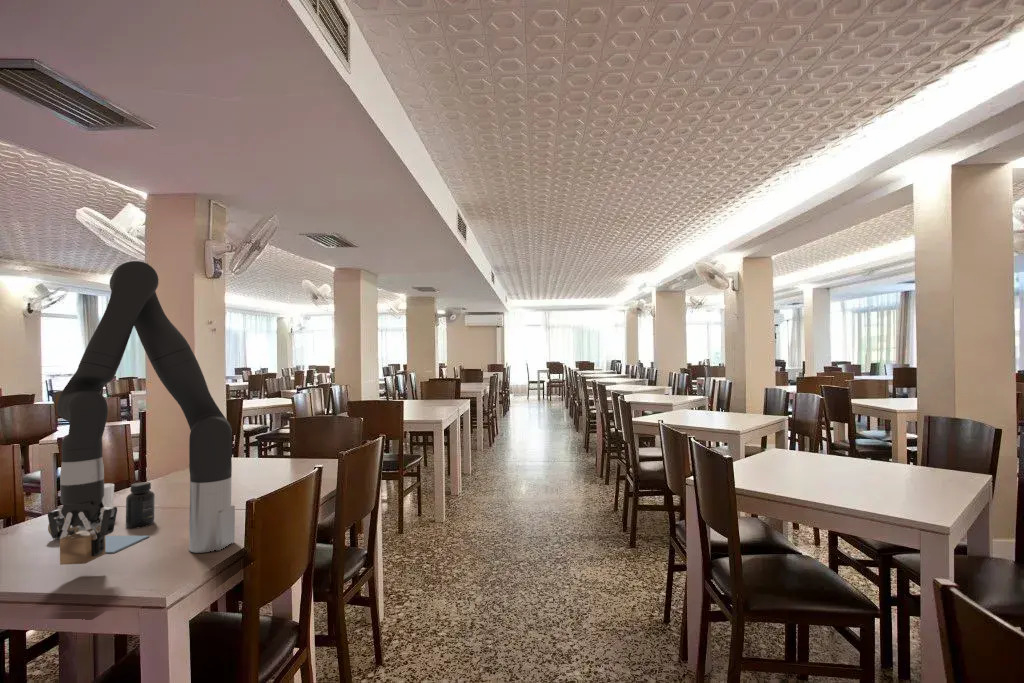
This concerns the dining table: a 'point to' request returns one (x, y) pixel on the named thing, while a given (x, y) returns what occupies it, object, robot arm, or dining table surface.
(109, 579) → the dining table surface
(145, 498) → the supplement bottle
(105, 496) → the white cup
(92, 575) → the dining table surface
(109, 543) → the slate mat
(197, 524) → the robot arm
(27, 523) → the dining table surface
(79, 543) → the walnut block
